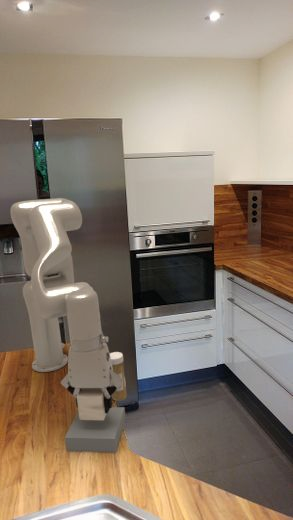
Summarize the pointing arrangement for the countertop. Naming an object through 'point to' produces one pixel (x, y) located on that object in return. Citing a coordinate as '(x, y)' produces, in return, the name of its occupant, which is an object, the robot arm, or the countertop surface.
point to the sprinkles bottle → (119, 370)
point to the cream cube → (91, 404)
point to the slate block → (96, 432)
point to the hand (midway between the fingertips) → (94, 409)
